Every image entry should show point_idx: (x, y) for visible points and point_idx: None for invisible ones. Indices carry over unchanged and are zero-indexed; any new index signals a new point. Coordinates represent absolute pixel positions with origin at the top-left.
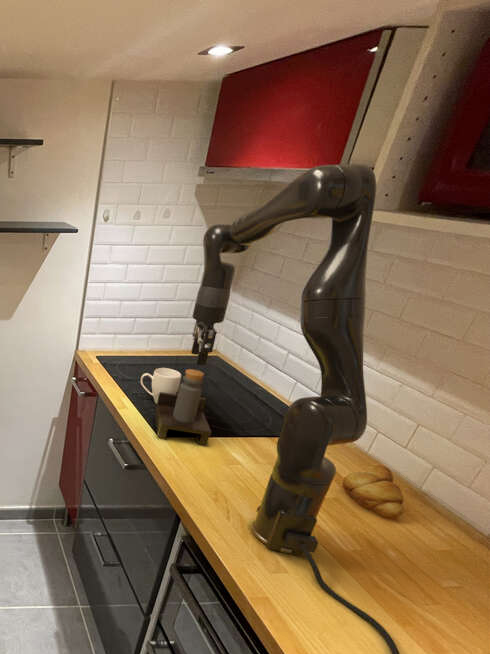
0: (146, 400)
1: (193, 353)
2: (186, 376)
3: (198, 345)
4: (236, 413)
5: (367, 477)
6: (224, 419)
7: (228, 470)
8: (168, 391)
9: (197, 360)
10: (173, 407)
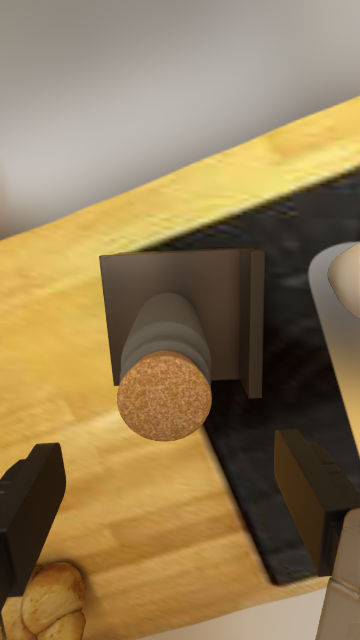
0: (354, 227)
1: (275, 440)
2: (148, 354)
3: (304, 519)
4: (332, 449)
5: (29, 622)
6: (289, 420)
7: (39, 395)
8: (340, 289)
9: (25, 461)
10: (236, 298)
